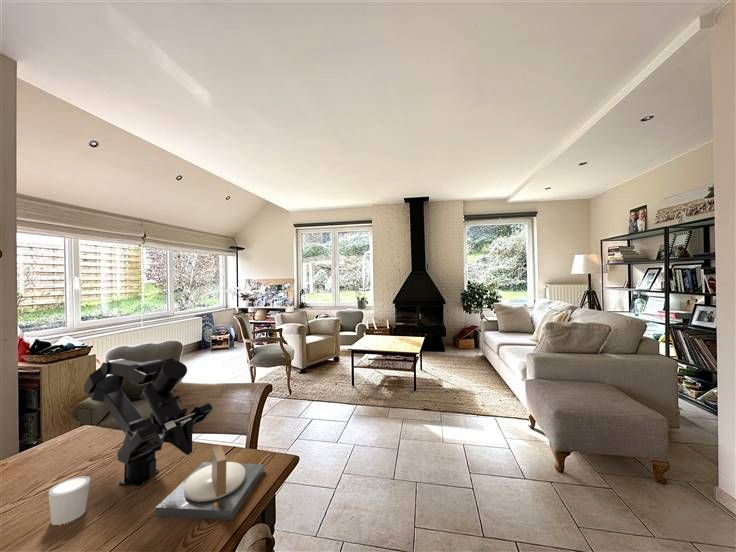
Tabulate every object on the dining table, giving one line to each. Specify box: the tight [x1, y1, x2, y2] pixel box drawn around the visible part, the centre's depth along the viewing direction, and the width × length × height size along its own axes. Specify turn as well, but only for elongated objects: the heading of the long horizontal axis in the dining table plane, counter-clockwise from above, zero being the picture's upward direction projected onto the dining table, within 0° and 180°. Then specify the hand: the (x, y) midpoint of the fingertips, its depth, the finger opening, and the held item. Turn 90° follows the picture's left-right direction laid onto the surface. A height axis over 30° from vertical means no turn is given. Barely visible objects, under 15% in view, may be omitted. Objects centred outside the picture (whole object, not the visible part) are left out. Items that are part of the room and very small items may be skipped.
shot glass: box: [48, 475, 91, 526], centre depth 69 cm, size 7×7×7 cm
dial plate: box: [154, 461, 265, 521], centre depth 77 cm, size 18×18×2 cm
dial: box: [184, 444, 245, 502], centre depth 77 cm, size 15×14×9 cm
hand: (189, 453), depth 74 cm, fingers closed
